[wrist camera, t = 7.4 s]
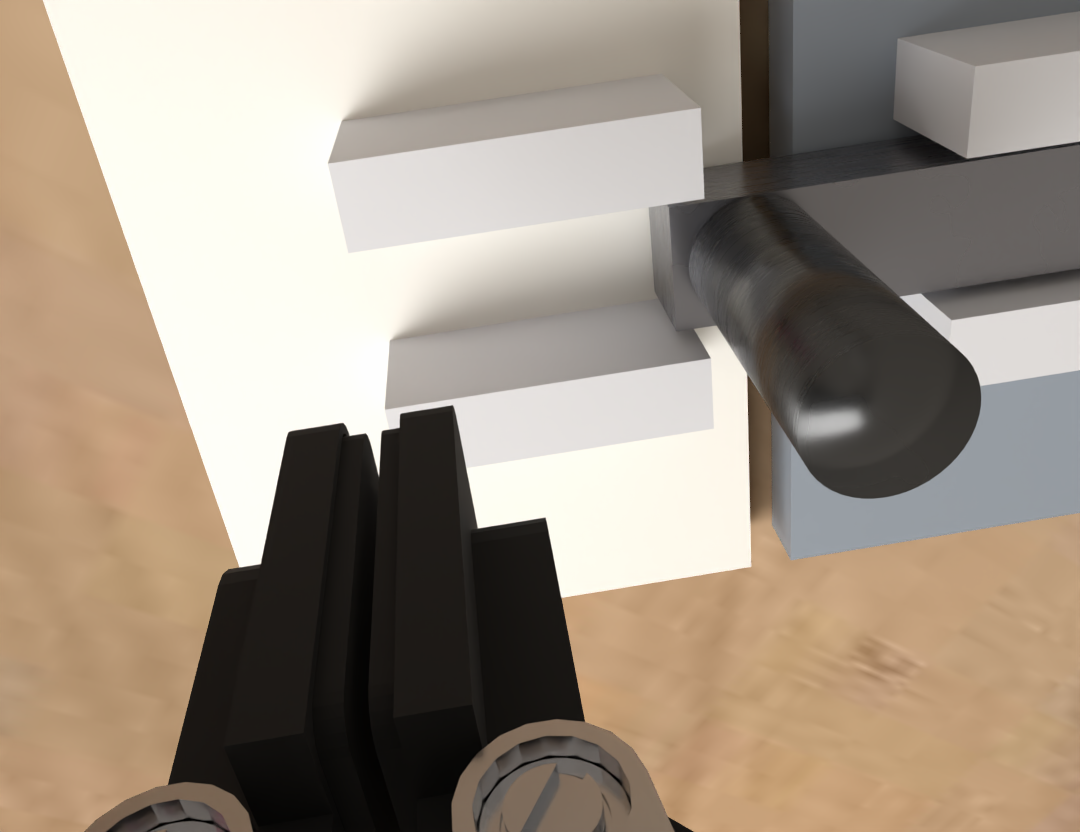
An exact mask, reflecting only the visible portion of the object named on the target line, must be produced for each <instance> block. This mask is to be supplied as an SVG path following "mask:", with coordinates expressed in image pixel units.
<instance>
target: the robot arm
mask: <svg viewBox="0 0 1080 832" xmlns="http://www.w3.org/2000/svg"><path fill="white" fill-rule="evenodd" d="M84 832H693V831H691V830H690V829H688V828H686V827H684V826H683V825H681V824H679V823H678V822H676V821H674V820H672V819H671V818H669V817H668V816H667V814H666V812H665V809H664V807H663V805H662V802H661V800H660V798H659V796H658V793H657V791H656V789H655V787H654V784H653V782H652V780H651V777H650V775H649V773H648V771H647V769H646V768H645V766H644V765H643V763H642V762H641V760H640V759H639V757H638V756H637V754H636V753H635V751H634V750H633V748H632V747H630V746H629V745H628V744H626V743H625V742H624V741H622V740H621V739H620V738H618V737H617V736H616V735H615V734H613V733H612V732H611V731H608V730H605V729H602V728H600V727H597V726H594V725H592V724H589V723H586V722H585V719H584V714H583V709H582V704H581V698H580V693H579V688H578V683H577V677H576V672H575V667H574V662H573V656H572V651H571V646H570V641H569V635H568V630H567V625H566V620H565V614H564V609H563V604H562V599H561V593H560V588H559V583H558V578H557V573H556V567H555V562H554V557H553V552H552V546H551V541H550V536H549V531H548V526H547V521H546V517H545V518H539V519H533V520H527V521H521V522H515V523H509V524H502V525H496V526H490V527H484V528H478V526H477V521H476V516H475V510H474V505H473V500H472V495H471V490H470V484H469V479H468V474H467V469H466V464H465V459H464V453H463V448H462V443H461V438H460V433H459V428H458V423H457V418H456V413H455V409H454V406H453V405H451V406H444V407H438V408H432V409H426V410H419V411H413V412H407V413H401V414H400V428H395V429H389V430H383V431H382V433H381V447H380V467H379V475H378V471H377V467H376V463H375V459H374V455H373V451H372V447H371V443H370V440H369V438H368V435H367V434H366V433H364V434H358V435H351V436H350V435H349V432H348V430H347V427H346V425H345V424H344V423H338V424H332V425H325V426H319V427H313V428H306V429H300V430H294V431H290V432H288V435H287V437H286V442H285V447H284V452H283V457H282V462H281V467H280V472H279V476H278V481H277V486H276V491H275V496H274V501H273V506H272V511H271V516H270V521H269V526H268V531H267V535H266V540H265V545H264V550H263V555H262V560H261V564H258V565H252V566H246V567H240V568H234V569H228V570H227V571H226V572H225V573H224V574H223V575H222V577H221V580H220V583H219V585H218V589H217V593H216V597H215V601H214V605H213V609H212V613H211V617H210V621H209V625H208V628H207V632H206V636H205V640H204V644H203V648H202V652H201V656H200V660H199V664H198V668H197V672H196V676H195V680H194V684H193V688H192V692H191V696H190V700H189V704H188V708H187V711H186V715H185V719H184V723H183V727H182V731H181V735H180V739H179V743H178V747H177V751H176V755H175V759H174V763H173V767H172V771H171V775H170V779H169V783H168V785H166V786H160V787H155V788H153V789H151V790H148V791H146V792H143V793H141V794H139V795H136V796H134V797H132V798H129V799H127V800H125V801H123V802H122V803H120V804H119V805H117V806H116V807H114V808H113V809H111V810H110V811H108V812H107V813H105V814H104V815H102V816H101V817H99V818H98V819H97V820H96V821H95V822H94V823H93V824H91V825H90V826H89V827H88V828H87V829H86V830H85V831H84Z"/></svg>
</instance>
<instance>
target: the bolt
mask: <svg viewBox="0 0 1080 832" xmlns="http://www.w3.org/2000/svg"><path fill="white" fill-rule="evenodd" d="M703 175H704V199H700V200H693V201H687V202H680V203H674V204H667V205H661V206H654V207H649V219H650V233H651V247H652V262H653V276H654V290H655V293H656V295H657V297H658V299H659V301H660V302H661V304H662V306H663V308H664V310H665V312H666V314H667V315H668V317H669V319H670V321H671V323H672V325H673V326H674V328H675V330H676V332H678V331H684V330H690V329H697V328H703V327H710V326H717V327H718V329H719V330H720V332H721V333H722V335H723V337H724V338H725V340H726V341H727V343H728V344H729V346H730V348H731V349H732V351H733V352H734V354H735V355H736V357H737V359H738V360H739V362H740V363H741V365H742V366H743V368H744V370H745V371H746V373H747V374H748V376H749V377H750V379H751V381H752V382H753V384H754V385H755V387H756V388H757V390H758V392H759V393H760V395H761V396H762V398H763V399H764V401H765V403H766V404H767V406H768V407H769V409H770V410H771V412H772V414H773V415H774V417H775V418H776V420H777V421H778V423H779V425H780V426H781V428H782V429H783V431H784V432H785V434H786V436H787V437H788V439H789V440H790V442H791V443H792V445H793V447H794V448H795V450H796V451H797V453H798V454H799V456H800V458H801V459H802V461H803V462H804V464H805V465H806V467H807V469H808V470H809V472H810V473H811V474H812V475H813V476H814V478H815V479H816V480H817V481H819V482H820V483H821V484H822V485H823V486H825V487H827V488H828V489H830V490H832V491H834V492H836V493H839V494H841V495H845V496H849V497H853V498H861V499H876V498H885V497H890V496H894V495H898V494H901V493H904V492H907V491H910V490H912V489H914V488H917V487H919V486H921V485H922V484H924V483H926V482H928V481H930V480H931V479H932V478H934V477H935V476H937V475H938V474H940V473H941V472H942V471H943V470H944V469H946V468H947V467H948V466H949V465H950V464H951V463H952V462H953V461H954V460H955V459H956V458H957V457H958V455H959V454H960V453H961V452H962V450H963V449H964V448H965V446H966V445H967V443H968V441H969V440H970V438H971V436H972V434H973V432H974V430H975V428H976V425H977V421H978V418H979V414H980V409H981V388H980V383H979V379H978V376H977V374H976V372H975V370H974V367H973V366H972V364H971V363H970V362H969V360H968V359H967V358H966V357H965V356H964V355H963V354H962V353H961V352H960V351H959V350H958V349H957V348H956V347H955V346H953V345H952V344H951V343H950V342H949V341H948V340H947V339H946V338H945V337H944V336H942V335H941V334H940V333H939V332H938V331H937V330H936V329H935V328H934V327H932V326H931V325H930V324H929V323H928V322H927V321H926V320H925V319H924V318H923V317H921V316H920V315H919V314H918V313H917V312H916V311H915V310H914V309H913V308H911V307H910V306H909V305H908V304H907V303H906V302H905V301H904V300H903V299H902V298H900V297H901V296H907V295H914V294H920V293H927V292H933V291H939V290H946V289H952V288H958V287H965V286H971V285H978V284H984V283H990V282H997V281H1003V280H1010V279H1016V278H1022V277H1029V276H1035V275H1041V274H1048V273H1054V272H1061V271H1067V270H1073V269H1080V141H1079V142H1073V143H1066V144H1060V145H1053V146H1046V147H1040V148H1033V149H1027V150H1020V151H1014V152H1007V153H1001V154H994V155H988V156H981V157H975V158H968V159H966V158H965V157H963V156H961V155H959V154H957V153H955V152H953V151H952V150H950V149H948V148H946V147H944V146H942V145H940V144H939V143H937V142H935V141H933V140H931V139H929V138H927V137H926V136H924V135H916V136H910V137H903V138H896V139H890V140H883V141H877V142H870V143H864V144H857V145H850V146H844V147H837V148H831V149H824V150H817V151H811V152H804V153H798V154H791V155H785V156H778V157H771V158H765V159H758V160H752V161H745V162H739V163H732V164H725V165H719V166H712V167H706V168H703Z"/></svg>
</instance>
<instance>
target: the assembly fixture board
mask: <svg viewBox="0 0 1080 832" xmlns="http://www.w3.org/2000/svg"><path fill="white" fill-rule="evenodd" d="M43 2H44V5H45V8H46V10H47V13H48V16H49V19H50V22H51V25H52V28H53V31H54V34H55V36H56V39H57V42H58V45H59V48H60V51H61V54H62V57H63V59H64V62H65V65H66V68H67V71H68V74H69V77H70V80H71V83H72V85H73V88H74V91H75V94H76V97H77V100H78V103H79V106H80V108H81V111H82V114H83V117H84V120H85V123H86V126H87V129H88V131H89V134H90V137H91V140H92V143H93V146H94V149H95V152H96V155H97V157H98V160H99V163H100V166H101V169H102V172H103V175H104V178H105V180H106V183H107V186H108V189H109V192H110V195H111V198H112V201H113V204H114V206H115V209H116V212H117V215H118V218H119V221H120V224H121V227H122V229H123V232H124V235H125V238H126V241H127V244H128V247H129V250H130V253H131V255H132V258H133V261H134V264H135V267H136V270H137V273H138V276H139V278H140V281H141V284H142V287H143V290H144V293H145V296H146V299H147V301H148V304H149V307H150V310H151V313H152V316H153V319H154V322H155V325H156V327H157V330H158V333H159V336H160V339H161V342H162V345H163V348H164V350H165V353H166V356H167V359H168V362H169V365H170V368H171V371H172V374H173V376H174V379H175V382H176V385H177V388H178V391H179V394H180V397H181V399H182V402H183V405H184V408H185V411H186V414H187V417H188V420H189V423H190V425H191V428H192V431H193V434H194V437H195V440H196V443H197V446H198V448H199V451H200V454H201V457H202V460H203V463H204V466H205V469H206V472H207V474H208V477H209V480H210V483H211V486H212V489H213V492H214V495H215V497H216V500H217V503H218V506H219V509H220V512H221V515H222V518H223V520H224V523H225V526H226V529H227V532H228V535H229V538H230V541H231V544H232V546H233V549H234V552H235V555H236V558H237V561H238V564H239V567H246V566H252V565H258V564H261V560H262V555H263V550H264V545H265V540H266V535H267V531H268V526H269V521H270V516H271V511H272V506H273V501H274V496H275V491H276V486H277V481H278V476H279V472H280V467H281V462H282V457H283V452H284V447H285V442H286V437H287V435H288V432H290V431H294V430H300V429H306V428H313V427H319V426H325V425H332V424H338V423H344V424H345V425H346V427H347V430H348V432H349V435H350V436H351V435H358V434H364V433H366V434H367V435H368V438H369V440H370V443H371V447H372V451H373V455H374V459H375V463H376V467H377V471H378V475H379V467H380V447H381V433H382V431H383V430H389V429H395V428H400V414H401V413H407V412H413V411H419V410H426V409H432V408H438V407H444V406H451V405H453V406H454V409H455V413H456V418H457V423H458V428H459V433H460V438H461V443H462V448H463V453H464V459H465V464H466V469H467V474H468V479H469V484H470V490H471V495H472V500H473V505H474V510H475V516H476V521H477V526H478V528H484V527H490V526H496V525H502V524H509V523H515V522H521V521H527V520H533V519H539V518H545V517H546V521H547V526H548V531H549V536H550V541H551V546H552V552H553V557H554V562H555V567H556V573H557V578H558V583H559V588H560V593H561V598H563V597H569V596H576V595H582V594H588V593H594V592H600V591H606V590H612V589H618V588H624V587H630V586H637V585H643V584H649V583H655V582H661V581H667V580H673V579H679V578H685V577H691V576H697V575H704V574H710V573H716V572H722V571H728V570H734V569H740V568H746V567H751V537H750V489H749V441H748V393H747V373H746V371H745V370H744V368H743V366H742V365H741V363H740V362H739V360H738V359H737V357H736V355H735V354H734V352H733V351H732V349H731V348H730V346H729V344H728V343H727V341H726V340H725V338H724V337H723V335H722V333H721V332H720V330H719V329H718V327H717V326H710V327H703V328H697V329H690V330H684V331H678V332H676V330H675V328H674V326H673V325H672V323H671V321H670V319H669V317H668V315H667V314H666V312H665V310H664V308H663V306H662V304H661V302H660V301H659V299H658V297H657V295H656V293H655V290H654V276H653V262H652V247H651V233H650V219H649V207H654V206H661V205H667V204H674V203H680V202H687V201H693V200H700V199H704V175H703V168H706V167H712V166H719V165H725V164H732V163H739V162H743V154H742V107H741V59H740V11H739V0H43ZM768 12H769V150H770V158H771V157H778V156H785V155H791V154H798V153H804V152H811V151H817V150H824V149H831V148H837V147H844V146H850V145H857V144H864V143H870V142H877V141H883V140H890V139H896V138H903V137H910V136H916V135H924V136H926V137H927V138H929V139H931V140H933V141H935V142H937V143H939V144H940V145H942V146H944V147H946V148H948V149H950V150H952V151H953V152H955V153H957V154H959V155H961V156H963V157H965V158H966V159H968V158H975V157H981V156H988V155H994V154H1001V153H1007V152H1014V151H1020V150H1027V149H1033V148H1040V147H1046V146H1053V145H1060V144H1066V143H1073V142H1079V141H1080V0H768ZM900 298H902V299H903V300H904V301H905V302H906V303H907V304H908V305H909V306H910V307H911V308H913V309H914V310H915V311H916V312H917V313H918V314H919V315H920V316H921V317H923V318H924V319H925V320H926V321H927V322H928V323H929V324H930V325H931V326H932V327H934V328H935V329H936V330H937V331H938V332H939V333H940V334H941V335H942V336H944V337H945V338H946V339H947V340H948V341H949V342H950V343H951V344H952V345H953V346H955V347H956V348H957V349H958V350H959V351H960V352H961V353H962V354H963V355H964V356H965V357H966V358H967V359H968V360H969V362H970V363H971V364H972V366H973V367H974V370H975V372H976V374H977V376H978V379H979V383H980V388H981V409H980V414H979V418H978V421H977V425H976V428H975V430H974V432H973V434H972V436H971V438H970V440H969V441H968V443H967V445H966V446H965V448H964V449H963V450H962V452H961V453H960V454H959V455H958V457H957V458H956V459H955V460H954V461H953V462H952V463H951V464H950V465H949V466H948V467H947V468H946V469H944V470H943V471H942V472H941V473H940V474H938V475H937V476H935V477H934V478H932V479H931V480H930V481H928V482H926V483H924V484H922V485H921V486H919V487H917V488H914V489H912V490H910V491H907V492H904V493H901V494H898V495H894V496H890V497H885V498H876V499H861V498H853V497H849V496H845V495H841V494H839V493H836V492H834V491H832V490H830V489H828V488H827V487H825V486H823V485H822V484H821V483H820V482H819V481H817V480H816V479H815V478H814V476H813V475H812V474H811V473H810V472H809V470H808V469H807V467H806V465H805V464H804V462H803V461H802V459H801V458H800V456H799V454H798V453H797V451H796V450H795V448H794V447H793V445H792V443H791V442H790V440H789V439H788V437H787V436H786V434H785V432H784V431H783V429H782V428H781V426H780V425H779V423H778V421H777V420H776V418H775V417H774V415H773V414H772V412H771V425H772V525H773V527H774V529H775V531H776V533H777V535H778V537H779V539H780V541H781V543H782V544H783V546H784V548H785V550H786V552H787V554H788V556H789V558H790V560H795V559H801V558H807V557H813V556H819V555H826V554H832V553H838V552H844V551H850V550H856V549H862V548H868V547H874V546H880V545H887V544H893V543H899V542H905V541H911V540H917V539H923V538H929V537H935V536H941V535H947V534H954V533H960V532H966V531H972V530H978V529H984V528H990V527H996V526H1002V525H1008V524H1015V523H1021V522H1027V521H1033V520H1039V519H1045V518H1051V517H1057V516H1063V515H1069V514H1076V513H1080V269H1073V270H1067V271H1061V272H1054V273H1048V274H1041V275H1035V276H1029V277H1022V278H1016V279H1010V280H1003V281H997V282H990V283H984V284H978V285H971V286H965V287H958V288H952V289H946V290H939V291H933V292H927V293H920V294H914V295H907V296H901V297H900Z"/></svg>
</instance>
